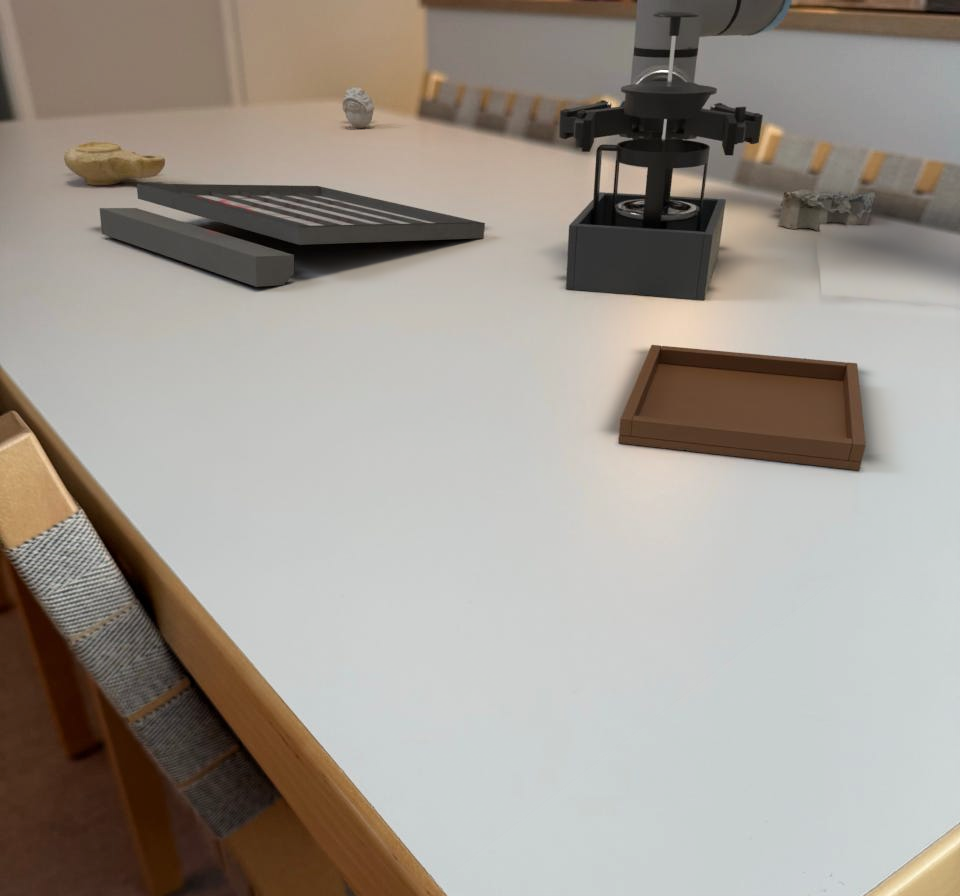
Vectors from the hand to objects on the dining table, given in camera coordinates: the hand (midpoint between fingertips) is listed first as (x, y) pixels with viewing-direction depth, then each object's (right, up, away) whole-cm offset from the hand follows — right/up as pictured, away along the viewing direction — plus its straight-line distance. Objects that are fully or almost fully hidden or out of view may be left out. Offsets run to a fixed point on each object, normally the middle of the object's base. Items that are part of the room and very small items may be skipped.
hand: (658, 137), depth 91 cm
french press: (0, -10, +9) cm, 13 cm away
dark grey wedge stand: (-39, -1, +22) cm, 45 cm away
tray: (+2, -31, -22) cm, 38 cm away
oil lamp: (-70, +19, +49) cm, 88 cm away
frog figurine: (-40, +52, +95) cm, 115 cm away
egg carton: (+25, +3, +27) cm, 37 cm away
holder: (0, -9, +9) cm, 13 cm away
